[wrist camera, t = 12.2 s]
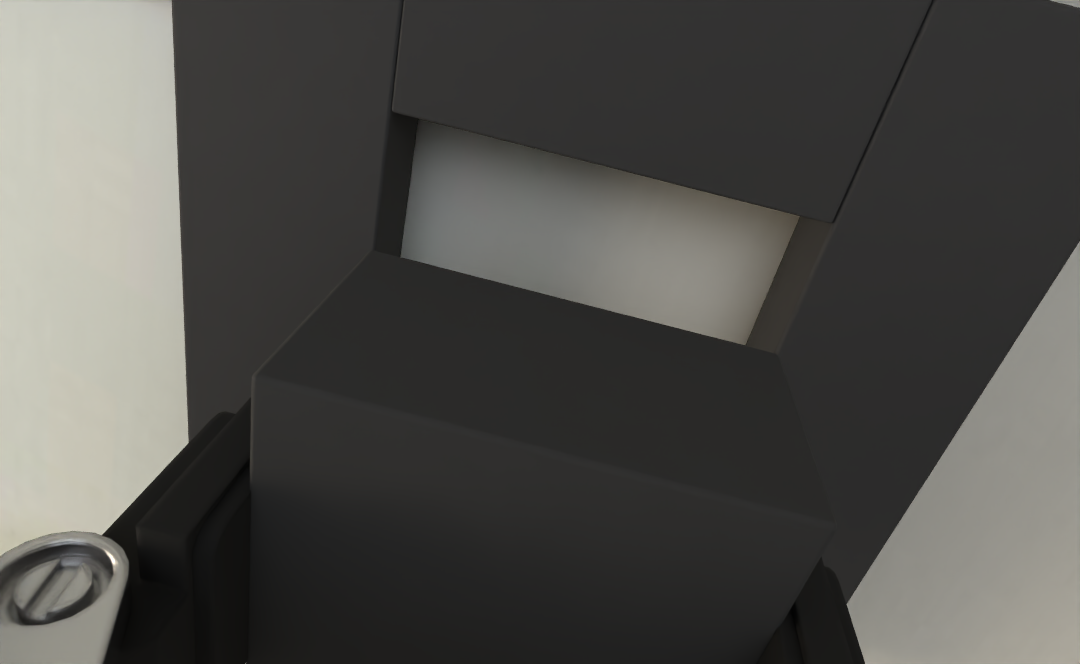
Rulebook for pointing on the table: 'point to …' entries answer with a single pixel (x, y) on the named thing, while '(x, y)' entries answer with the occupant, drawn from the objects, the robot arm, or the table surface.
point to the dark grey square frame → (664, 179)
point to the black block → (520, 483)
